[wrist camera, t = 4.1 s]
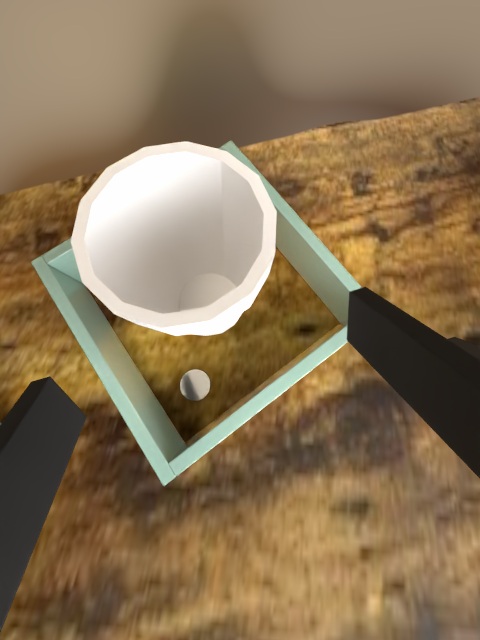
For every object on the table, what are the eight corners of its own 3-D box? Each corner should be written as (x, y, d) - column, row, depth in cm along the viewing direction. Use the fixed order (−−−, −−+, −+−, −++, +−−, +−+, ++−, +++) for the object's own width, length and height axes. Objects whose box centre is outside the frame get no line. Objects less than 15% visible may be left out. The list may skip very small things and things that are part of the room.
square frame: (181, 459, 21) (163, 486, 16) (72, 283, 24) (29, 261, 19) (354, 325, 23) (384, 312, 18) (233, 182, 27) (231, 140, 22)
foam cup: (148, 335, 23) (35, 290, 10) (180, 250, 25) (118, 124, 12) (243, 363, 23) (245, 353, 10) (269, 274, 24) (299, 168, 12)
